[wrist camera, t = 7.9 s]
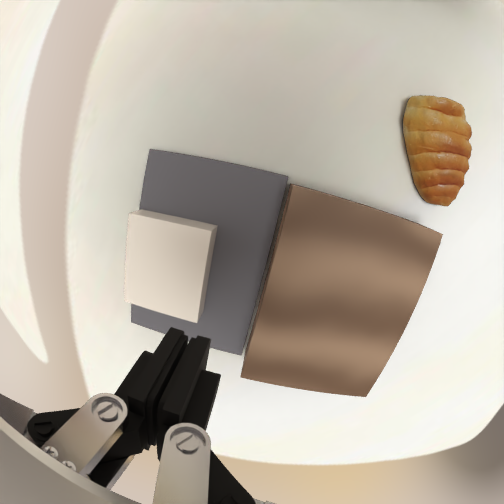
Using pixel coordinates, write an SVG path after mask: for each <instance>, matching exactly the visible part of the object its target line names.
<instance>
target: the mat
mask: <svg viewBox="0 0 504 504" xmlns="http://www.w3.org/2000/svg"><path fill="white" fill-rule="evenodd" d="M287 180H288V176H285V175H281V174H277V173H273V172H268V171H264V170H260V169H256V168H251V167H247V166H242V165H238V164H233V163H228V162H223V161H218V160H213V159H208V158H202V157H197V156H191V155H185V154H179V153H173V152H167V151H160V150H153V149H150V150H149V155H148V160H147V165H146V171H145V176H144V182H143V188H142V195H141V202H140V209H143V210H147V211H152V212H157V213H162V214H167V215H171V216H176V217H181V218H185V219H190V220H195V221H199V222H204V223H208V224H213V225H218V227H217V233H216V238H215V244H214V249H213V255H212V261H211V267H210V273H209V279H208V285H207V291H206V297H205V304H204V310H203V313H202V315H201V317H200V318H199V320H198V322H197V323H195V322H191V321H187V320H184V319H180V318H177V317H173V316H170V315H166V314H163V313H160V312H157V311H153V310H150V309H147V308H144V307H141V306H138V305H135V304H132V305H131V322H132V323H135V324H138V325H141V326H143V327H146V328H149V329H152V330H155V331H158V332H161V333H164V334H166V333H167V332H168V330H169V329H170V328H171V327H173V328H176V329H179V330H183V331H184V335H187V336H188V341H190V339H191V337H194V338H196V337H197V336H198V335H199V336H203V337H206V338H210V339H211V343H210V348H214V349H218V350H221V351H225V352H229V353H233V354H237V355H241V354H242V351H243V347H244V344H245V340H246V336H247V333H248V329H249V326H250V322H251V318H252V315H253V311H254V307H255V304H256V300H257V296H258V292H259V289H260V285H261V281H262V277H263V274H264V270H265V266H266V262H267V258H268V255H269V251H270V247H271V243H272V239H273V235H274V232H275V228H276V224H277V220H278V216H279V212H280V208H281V204H282V200H283V196H284V192H285V188H286V184H287ZM140 209H139V210H140Z"/></svg>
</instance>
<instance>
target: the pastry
mask: <svg viewBox="0 0 504 504" xmlns="http://www.w3.org/2000/svg"><path fill="white" fill-rule="evenodd" d="M464 110H465V109H464V107H463V106H462V105H461V104H459V103H457V102H455V101H453V100H450V99H448V98H445V97H435V96H422V95H420V96H412V97H410V99H409V100H408V103H407V106H406V110H405V114H404V118H403V134H404V138H405V145H406V148H407V155H408V158H409V162H410V167H411V172H412V176H413V180H414V184H415V186H416V188H417V190H418V192H419V194H420V196H421V197H422V198H423V199H424V200H425V201H426V202H427V203H431V204H435V205H442V206H449V205H450V204H451V202H452V201H453V200H455V198H456V196H457V194H458V192H459V190H460V188H461V187H462V186H463V185H464V175H465V173H466V172H467V170H468V169H469V164H468V159H469V158H470V156H471V150H472V147H471V144H470V143H469V139H470V137H471V135H472V131H471V127H470V125H469V124H468V123H467V122H466V120H465V113H464Z"/></svg>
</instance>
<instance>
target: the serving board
mask: <svg viewBox="0 0 504 504" xmlns="http://www.w3.org/2000/svg"><path fill="white" fill-rule="evenodd" d="M442 235H443V234H441V233H439V232H436V231H434V230H432V229H430V228H427V227H425V226H423V225H420V224H418V223H415V222H412V221H410V220H407V219H404V218H401V217H399V216H396V215H393V214H390V213H387V212H384V211H381V210H378V209H375V208H372V207H369V206H366V205H363V204H360V203H357V202H354V201H350V200H347V199H344V198H340V197H337V196H334V195H330V194H327V193H323V192H320V191H316V190H313V189H309V188H306V187H302V186H298V185H294V184H290V187H289V191H288V195H287V199H286V203H285V207H284V211H283V215H282V219H281V223H280V227H279V230H278V234H277V238H276V242H275V246H274V249H273V253H272V257H271V261H270V265H269V268H268V272H267V276H266V279H265V283H264V287H263V290H262V294H261V298H260V301H259V305H258V309H257V312H256V316H255V319H254V323H253V326H252V330H251V334H250V337H249V341H248V344H247V348H246V351H245V357H244V362H243V367H242V372H241V377H242V378H246V379H250V380H255V381H260V382H264V383H269V384H274V385H280V386H285V387H291V388H297V389H303V390H309V391H316V392H324V393H332V394H340V395H350V396H361V397H366V396H367V394H368V393H369V391H370V390H371V388H372V387H373V385H374V383H375V382H376V380H377V379H378V377H379V375H380V374H381V372H382V370H383V369H384V367H385V365H386V363H387V362H388V360H389V358H390V356H391V355H392V353H393V351H394V349H395V347H396V345H397V343H398V342H399V340H400V338H401V336H402V334H403V332H404V330H405V328H406V326H407V324H408V322H409V320H410V317H411V315H412V313H413V311H414V309H415V307H416V304H417V302H418V300H419V297H420V295H421V293H422V290H423V288H424V286H425V283H426V281H427V278H428V275H429V273H430V270H431V268H432V265H433V262H434V259H435V256H436V254H437V251H438V248H439V245H440V242H441V238H442Z"/></svg>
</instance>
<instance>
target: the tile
mask: <svg viewBox="0 0 504 504" xmlns="http://www.w3.org/2000/svg"><path fill="white" fill-rule="evenodd" d="M217 227H218V225H213V224H208V223H204V222H199V221H195V220H190V219H185V218H181V217H176V216H171V215H167V214H162V213H157V212H152V211H147V210H143V209H140V210H137V211H134V212H131V213H129V217H128V228H127V240H126V256H125V282H124V301H126V302H128V303H131V304H135V305H138V306H141V307H144V308H147V309H150V310H153V311H157V312H160V313H163V314H166V315H170V316H173V317H177V318H180V319H184V320H187V321H191V322H195V323H197V322H198V320H199V318H200V317H201V315H202V313H203V310H204V304H205V297H206V291H207V285H208V279H209V273H210V267H211V261H212V255H213V249H214V244H215V238H216V233H217Z"/></svg>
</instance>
